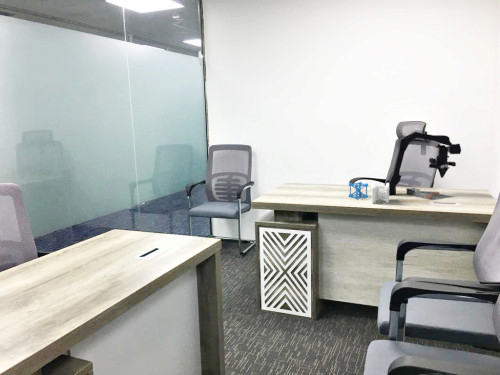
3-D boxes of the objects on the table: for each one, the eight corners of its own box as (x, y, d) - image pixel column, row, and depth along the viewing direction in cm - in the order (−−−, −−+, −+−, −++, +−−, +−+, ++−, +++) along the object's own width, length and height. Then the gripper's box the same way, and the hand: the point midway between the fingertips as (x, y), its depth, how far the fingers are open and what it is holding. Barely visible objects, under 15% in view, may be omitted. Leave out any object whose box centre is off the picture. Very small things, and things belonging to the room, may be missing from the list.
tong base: (406, 194, 278) (406, 187, 278) (412, 193, 281) (412, 186, 280) (429, 199, 261) (429, 191, 260) (435, 198, 263) (435, 190, 262)
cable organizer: (388, 204, 252) (389, 186, 250) (371, 204, 255) (371, 185, 253) (388, 199, 266) (389, 182, 264) (372, 199, 269) (372, 182, 267)
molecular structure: (347, 196, 280) (347, 182, 278) (360, 195, 283) (360, 181, 281) (355, 199, 271) (355, 184, 269) (368, 198, 273) (369, 183, 272)
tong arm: (416, 194, 276) (416, 191, 275) (416, 194, 277) (416, 190, 277) (438, 196, 269) (438, 192, 268) (439, 195, 270) (439, 191, 270)
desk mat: (432, 201, 257) (432, 200, 257) (402, 194, 280) (402, 193, 280) (454, 197, 266) (454, 196, 265) (423, 191, 288) (423, 190, 288)
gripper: (442, 152, 281) (441, 175, 283) (423, 154, 273) (422, 177, 276) (457, 153, 271) (455, 176, 273) (436, 155, 263) (435, 179, 266)
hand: (441, 177), depth 272 cm, fingers closed
